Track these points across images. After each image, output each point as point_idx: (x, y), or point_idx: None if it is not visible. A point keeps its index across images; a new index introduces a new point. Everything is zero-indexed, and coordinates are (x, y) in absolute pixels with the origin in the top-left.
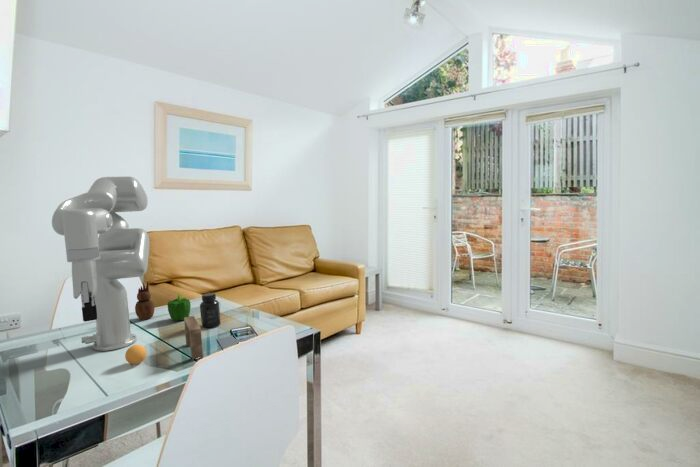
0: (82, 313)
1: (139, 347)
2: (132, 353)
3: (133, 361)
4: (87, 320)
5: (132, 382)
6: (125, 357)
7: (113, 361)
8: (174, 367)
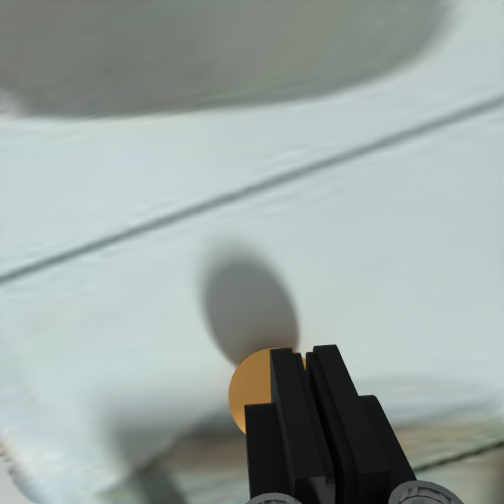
0: (281, 410)
1: None
2: (236, 401)
3: (232, 376)
4: (272, 381)
5: (66, 364)
6: (262, 357)
7: (364, 275)
8: (143, 486)
